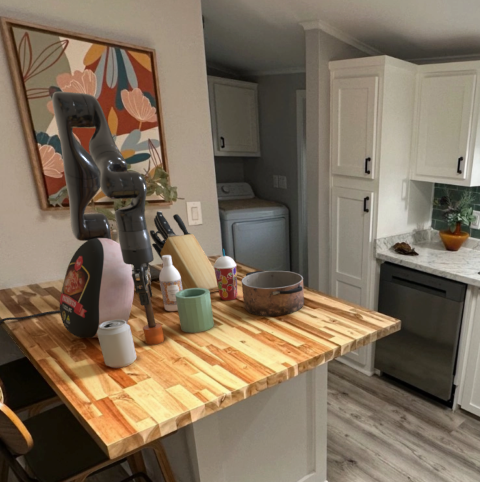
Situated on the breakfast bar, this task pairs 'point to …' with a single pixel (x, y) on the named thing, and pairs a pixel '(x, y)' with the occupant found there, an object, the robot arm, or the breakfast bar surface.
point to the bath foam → (169, 283)
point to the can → (116, 343)
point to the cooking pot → (272, 292)
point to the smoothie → (226, 277)
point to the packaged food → (96, 288)
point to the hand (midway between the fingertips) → (146, 300)
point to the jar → (194, 310)
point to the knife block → (184, 254)
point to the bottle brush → (152, 325)
